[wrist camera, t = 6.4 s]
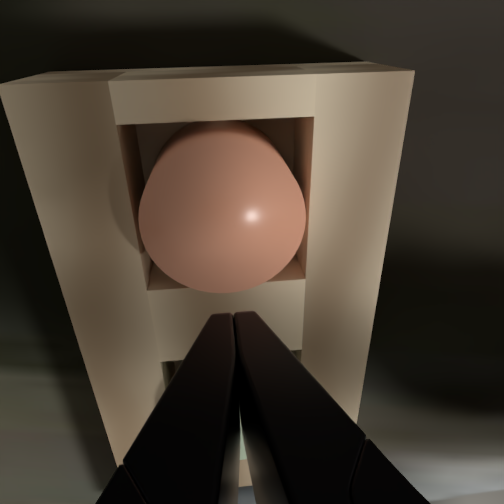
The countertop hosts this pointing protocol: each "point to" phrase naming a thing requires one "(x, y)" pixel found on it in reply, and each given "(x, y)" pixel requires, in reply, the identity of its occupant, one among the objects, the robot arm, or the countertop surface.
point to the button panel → (134, 182)
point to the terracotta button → (221, 208)
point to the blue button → (246, 495)
